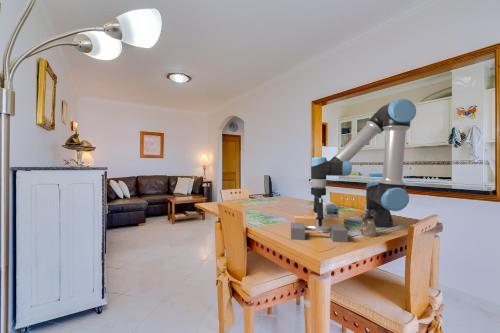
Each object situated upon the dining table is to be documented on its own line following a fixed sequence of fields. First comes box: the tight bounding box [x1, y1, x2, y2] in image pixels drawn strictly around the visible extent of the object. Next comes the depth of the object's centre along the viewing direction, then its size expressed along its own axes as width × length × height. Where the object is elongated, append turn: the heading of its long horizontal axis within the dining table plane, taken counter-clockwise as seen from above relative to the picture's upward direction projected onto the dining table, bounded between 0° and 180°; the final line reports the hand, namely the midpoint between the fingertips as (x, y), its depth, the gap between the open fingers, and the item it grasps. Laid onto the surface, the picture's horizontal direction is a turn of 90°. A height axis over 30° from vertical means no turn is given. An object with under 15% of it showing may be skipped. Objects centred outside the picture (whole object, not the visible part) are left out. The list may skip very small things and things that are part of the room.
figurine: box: [358, 208, 377, 238], centre depth 114 cm, size 7×7×12 cm
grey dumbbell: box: [290, 222, 349, 243], centre depth 110 cm, size 24×10×5 cm, turn 81°
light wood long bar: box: [293, 215, 345, 227], centre depth 123 cm, size 24×5×6 cm, turn 82°
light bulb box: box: [323, 201, 340, 217], centre depth 136 cm, size 11×7×11 cm, turn 179°
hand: (317, 228), depth 123 cm, fingers open, 13 cm apart
